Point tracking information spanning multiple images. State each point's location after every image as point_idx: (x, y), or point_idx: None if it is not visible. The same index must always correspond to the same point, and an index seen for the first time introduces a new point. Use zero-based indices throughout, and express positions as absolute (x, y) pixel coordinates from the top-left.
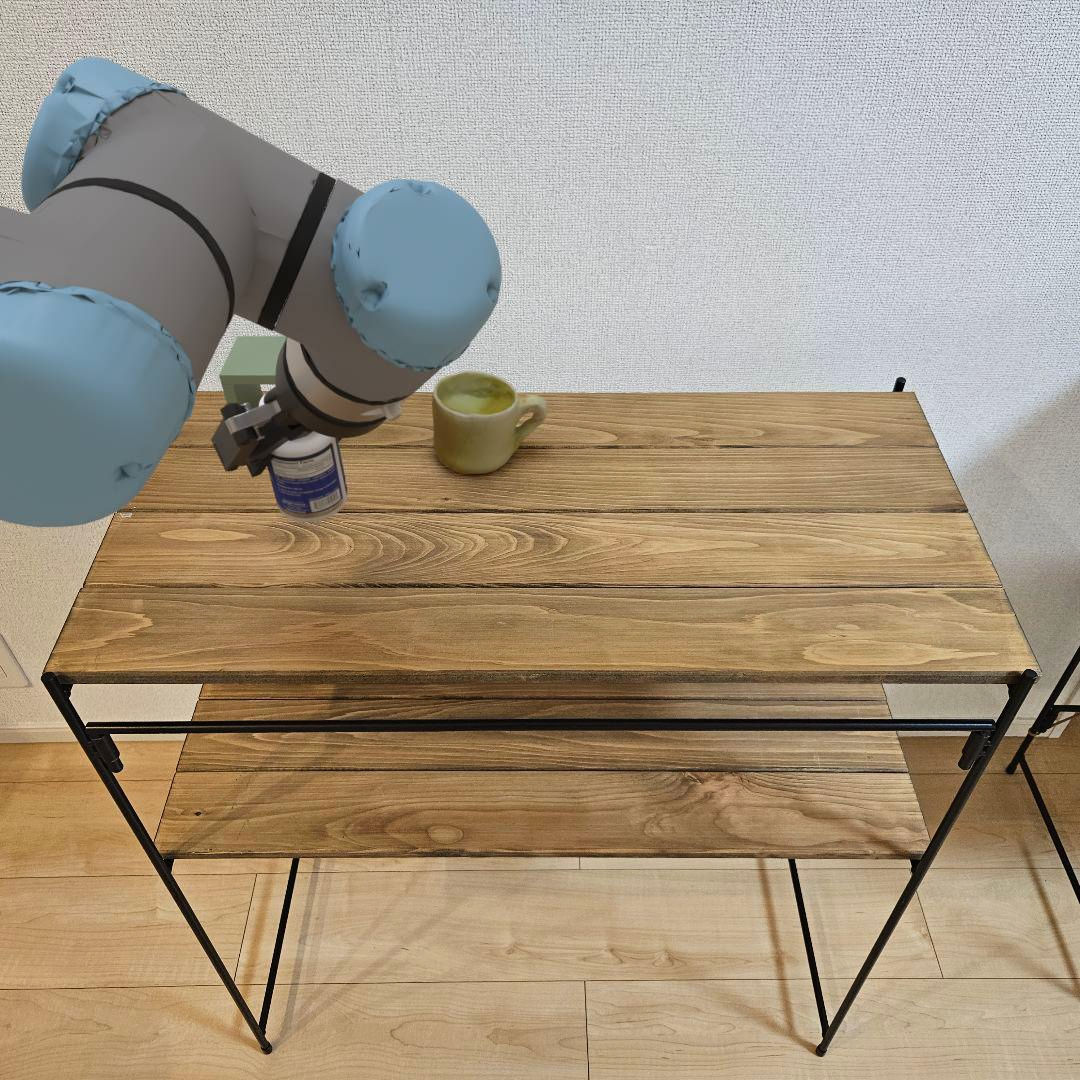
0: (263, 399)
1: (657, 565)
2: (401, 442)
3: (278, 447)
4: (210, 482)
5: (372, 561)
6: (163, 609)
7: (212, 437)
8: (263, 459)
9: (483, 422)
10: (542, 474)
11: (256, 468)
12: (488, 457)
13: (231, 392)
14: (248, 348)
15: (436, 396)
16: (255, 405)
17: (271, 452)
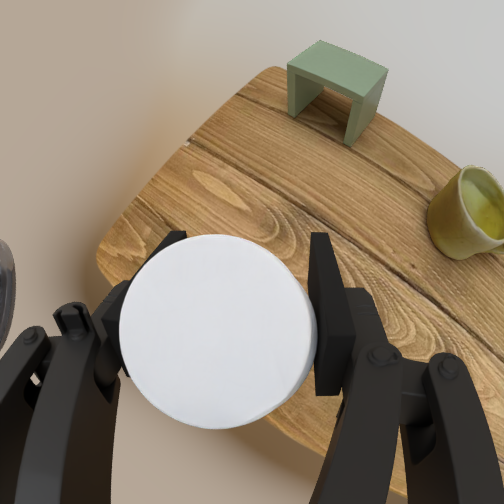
0: (148, 271)
1: None
2: (406, 179)
3: (111, 452)
4: (250, 138)
5: None
6: (156, 247)
7: (9, 348)
8: (127, 374)
9: (482, 240)
10: (482, 285)
11: None
12: (462, 255)
13: (292, 79)
14: (322, 51)
15: (460, 185)
16: (313, 90)
17: (115, 419)
